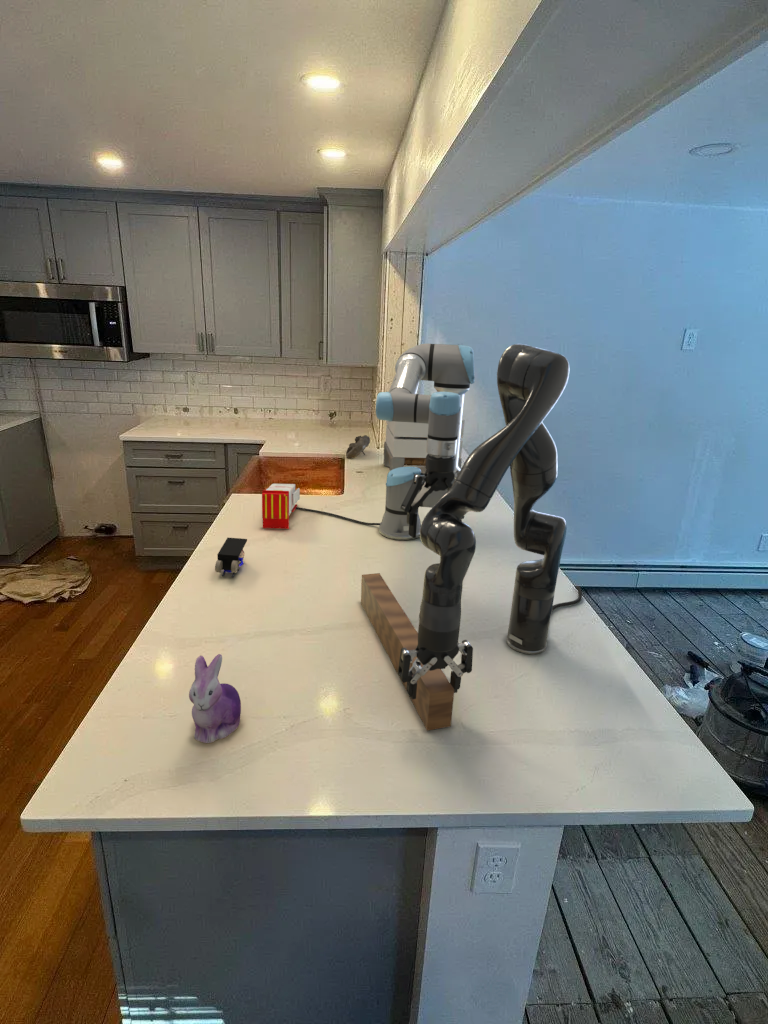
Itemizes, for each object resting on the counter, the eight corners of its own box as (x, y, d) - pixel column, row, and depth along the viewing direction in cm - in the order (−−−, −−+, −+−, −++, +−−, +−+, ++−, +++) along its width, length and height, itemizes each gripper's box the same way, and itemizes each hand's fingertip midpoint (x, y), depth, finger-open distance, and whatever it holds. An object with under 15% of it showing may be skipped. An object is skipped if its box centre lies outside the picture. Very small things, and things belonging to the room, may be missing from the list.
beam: (360, 602, 152) (361, 574, 149) (378, 601, 154) (379, 572, 151) (426, 730, 107) (430, 693, 104) (450, 726, 108) (454, 689, 106)
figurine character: (238, 584, 162) (249, 557, 175) (236, 562, 158) (247, 536, 172) (215, 584, 161) (227, 556, 175) (212, 561, 158) (225, 535, 171)
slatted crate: (382, 463, 289) (386, 382, 275) (445, 464, 293) (451, 384, 279) (390, 482, 257) (394, 392, 243) (460, 483, 261) (468, 394, 247)
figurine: (196, 753, 99) (190, 681, 94) (186, 717, 107) (180, 649, 102) (250, 737, 103) (246, 667, 98) (236, 703, 112) (232, 637, 107)
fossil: (346, 441, 313) (367, 426, 308) (356, 454, 316) (378, 440, 311) (339, 455, 293) (362, 439, 288) (351, 469, 296) (373, 453, 291)
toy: (301, 479, 224) (291, 492, 194) (301, 512, 226) (291, 530, 197) (270, 478, 223) (256, 491, 194) (271, 511, 226) (256, 529, 197)
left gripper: (403, 461, 135) (399, 543, 142) (490, 455, 145) (482, 532, 152) (390, 454, 141) (386, 533, 148) (474, 448, 152) (466, 523, 158)
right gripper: (410, 635, 99) (404, 711, 104) (484, 625, 103) (475, 700, 108) (396, 613, 105) (392, 687, 111) (466, 606, 109) (459, 676, 115)
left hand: (434, 533), depth 150 cm, fingers open, 13 cm apart
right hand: (433, 693), depth 109 cm, fingers open, 8 cm apart
